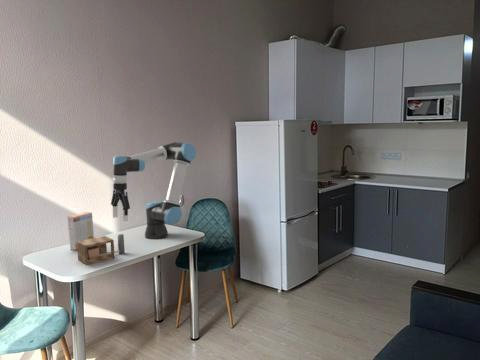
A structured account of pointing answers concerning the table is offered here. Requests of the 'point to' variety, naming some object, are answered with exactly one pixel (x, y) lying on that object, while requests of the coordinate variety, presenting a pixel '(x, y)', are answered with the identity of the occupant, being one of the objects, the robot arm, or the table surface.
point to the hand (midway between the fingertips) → (120, 219)
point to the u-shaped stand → (94, 252)
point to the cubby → (97, 242)
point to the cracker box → (80, 228)
